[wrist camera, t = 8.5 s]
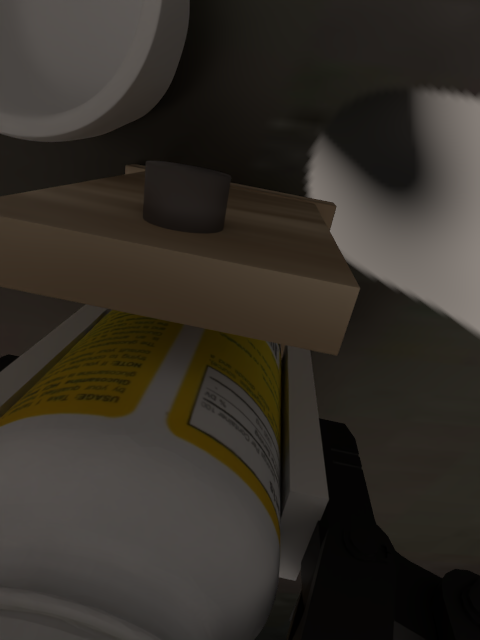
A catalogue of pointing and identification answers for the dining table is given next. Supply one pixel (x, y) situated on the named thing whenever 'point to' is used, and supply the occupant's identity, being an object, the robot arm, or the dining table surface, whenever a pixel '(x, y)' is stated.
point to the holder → (184, 253)
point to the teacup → (85, 64)
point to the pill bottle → (143, 488)
